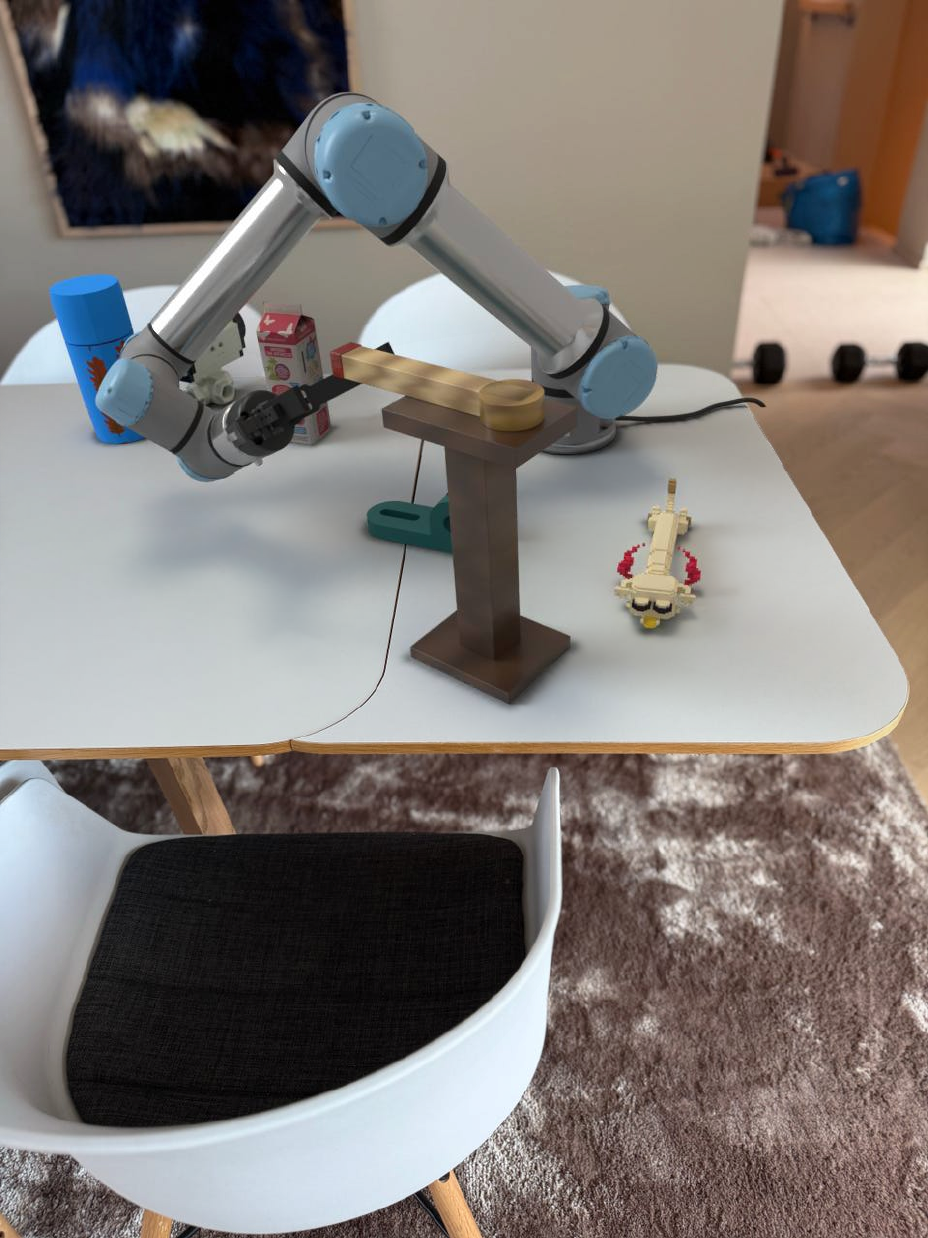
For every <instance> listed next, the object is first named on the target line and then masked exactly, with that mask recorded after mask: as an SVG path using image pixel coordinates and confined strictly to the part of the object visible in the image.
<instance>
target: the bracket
mask: <svg viewBox="0 0 928 1238" xmlns="http://www.w3.org/2000/svg"><path fill="white" fill-rule="evenodd" d="M366 521H367V529H368V532H369V534H370V536H372V537H374V538H376V539H379V540H382V541H383V540H384V541H389V542H394V543H399V544H402V545H403V544H404V545H409V546H414V547H418V548H424V549H428V550H433V551H438V552H443V553H448V554H452V555H453V552H452V539H451V526H450V514H449V501H448V491H447V492H446V493H445V495H444V496H443V497H441V498H440V500H439V501H438V502H437V503H436V504H435V505H434V506H430V505H423V504H419V503H413V502H408V501H404V500H386V501H382V502H379V503H377V504H374V505H373V506H370V508H369V509H368V510H367V512H366Z"/></svg>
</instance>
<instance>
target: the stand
mask: <svg viewBox="0 0 928 1238" xmlns="http://www.w3.org/2000/svg"><path fill="white" fill-rule="evenodd" d="M544 407H545V417H544V420H543V421H542V422H541V423H540V424H539V425H537V426H535V427H533V428H530V429H527V430H522V431H512V432H508V431H498V430H493V429H490V428H488V427H486V426H484V425H483V424H482V423H481V421H480V417H479V416H476V415H472V414H469V413H465V412H462V411H458V410H454V409H451V408H447V407H444V406H440V405H437V404H433V403H430V402H426V401H423V400H419V399H416V398H412V397H409V396H405V395H403V396H402V397H401V398H398V399H397V400H395V401H392V403H389V404H387V405H385V406H383V407H382V408H381V409H380V410H381V417H382V426H383V429H387V430H389V431H394V432H396V433H400V434H403V435H406V436H409V437H412V438H416V439H419V440H422V441H425V442H428V443H431V444H435V445H438V446H441V447H444V450H443V451H444V461H445V462H444V463H445V474H446V483H447V484H446V487H447V492H448V501H449V514H450V526H451V539H452V552H453V554H452V563H453V575H454V589H455V603H456V610H455V611H454V612H452V613H451V614H450V615H448V616H447V617H446V618H445V619H444V620H442V621H440V623H439V624H437V625H436V626H435V627H434V628H432V629H431V630H430V631H429V632H427V633H426V634H425V635H423V637H421V638H419V640H417V641H416V642H415V643H413V644H412V645H410V647H409V649H410V657H411V658H413V659H415V660H417V661H419V662H421V663H423V664H425V665H427V666H430V667H431V668H432V669H433V668H434V669H436V670H438V671H440V672H442V673H443V674H446V675H448V676H450V677H452V678H454V679H456V680H458V681H461V682H463V683H464V684H467V685H469V686H471V687H473V688H475V689H476V690H480V691H481V692H483V693H485V694H487V695H488V696H489V695H490V696H492V697H494V698H496V699H498V700H500V701H502V702H504V703H507V704H508V705H509V704H511V703H512V702H513V701H514V700H515V699H516V698H517V697H518V696H520V694H521V693H522V692H524V691H525V690H526V689H527V688H528V687H529V686H530V685H531V684H532V683H533V682H534V681H535V680H536V679H538V677H539V676H540V675H541V674H542V673H544V671H546V670H547V669H548V668H549V667H550V666H551V665H552V664H554V662H555V661H556V660H557V659H559V657H560V656H561V655H563V654H564V653H565V652H566V651H567V650H568V649H569V648H570V647H571V635H569V634H567V633H565V632H562V631H559V630H557V629H555V628H552V627H550V626H547V625H545V624H542V623H541V622H538V621H535V620H533V619H530V618H528V617H526V616H523V615H521V600H520V599H521V597H520V595H521V593H520V560H519V559H520V558H519V555H520V554H519V520H518V517H519V515H518V482H517V481H518V480H517V479H518V478H517V469H518V468H520V467H521V466H523V465H524V464H526V463H527V462H529V461H530V460H531V459H533V458H534V457H536V456H537V455H539V454H540V453H542V452H544V451H543V450H544V449H546V448H547V447H549V446H550V445H552V444H553V443H555V442H556V441H557V440H559V439H560V438H562V437H563V436H565V435H566V434H568V433H569V432H571V431H572V430H573V429H575V428H576V427H577V418H578V408H577V407H574V406H570V405H566V404H562V403H558V402H554V401H550V400H546V399H544Z"/></svg>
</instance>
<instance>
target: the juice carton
mask: <svg viewBox="0 0 928 1238" xmlns="http://www.w3.org/2000/svg"><path fill="white" fill-rule="evenodd" d="M262 305H263V312H264V313H263V314H262V317H261V319H260V321H259V323H258V325H257V328H256V330H255V332H256V338H257V343H258V347H259V353H260V358H261V363H262V369H263V373H264V379H265V383H266V389H267V391H271V392H273V393H275V394H277V395H279V394H281V393H283V392H285V391H287V390H289V389H290V388H292V387H294V386H296V385H298V386H301V385H303V384H306V383H308V384H310V385H313V384H315V383H317V382H319V381H320V380H322V379H324V373H323V366H322V362H321V361H322V359H321V353H320V347H319V342H318V341H319V339H318V335H317V328H316V323H315V319H314V318H313V317H311V316H307V315H304V314H303V308H302V304H296V303H284V302H275V301H274V302H273V301H262ZM301 392H302V394H303V396H304V397H306V394H305V392H304V391H303V390H302V391H301ZM308 405H309V407H310V409H312V405H311V403H310V404H308ZM329 410H330V409H329V405H328V402H326V403H324V404H322V406H321V409H320V410H319V411H317V412H315V413H313V414H311V415H309V416H307V417H305V418H304V420H303V421H302V422H300V423H298V424H296V425H295V431H294V435H293V438H292V440H291V442H290V443H294V444H300V445H307V446H308V445H309V446H313V445H314V444H316V443H317V442H318V441H319V440H320V439H321V438H322V437H323V436H324V435H326V433H328V432H329V431H330V430H331V429H332V424H331V418H330V411H329ZM299 416H300V415H299Z"/></svg>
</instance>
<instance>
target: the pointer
mask: <svg viewBox="0 0 928 1238" xmlns="http://www.w3.org/2000/svg"><path fill="white" fill-rule="evenodd" d="M375 349H376V348H371V347H367V346H363V345H362V344H360V343H356V342H352V341H350V342H348V343H345V344H343V345H341V346H339V347H337V348H335V349H333V350H330V351H329V359H330V365H331V373H332V374H333V376H336V377H340V378H343V379H344V378H345V379H349V380H352V381H356V382H359V383H363V384H362V385H367V386H370V387H373V388H376V389H380V390H384V391H388V392H392V393H394V394H399V395H401V396H409V397H412V398H416V399H419V400H423V401H426V402H430V403H433V404H437V405H440V406H444V407H447V408H451V409H454V410H458V411H462V412H465V413H469V414H472V415H476V416H479V417H480V421H481V423H482V424H483V425H484V426H486V427H488V428H490V429H493V430H498V431H508V432H512V431H522V430H527V429H530V428H533V427H535V426H537V425H539V424H540V423H541V422H542V421H543V420H544V417H545V407H544V389H543V387H542V386H541V385H539V384H537V383H535V382H532V380H528V379H521V378H520V379H519V378H508V379H501V380H497V379H493V378H492V379H491V378H489V377H484V376H481V375H478V374H477V375H476V374H472V373H469V372H465V371H461V370H458V369H453V368H450V367H445V366H441V365H437V364H433V363H429V362H425V361H421V360H417V359H414V358H410V357H406V356H402V355H398V354H395V353H394V354H391V353H387V352H383V351H379V350H375Z"/></svg>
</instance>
